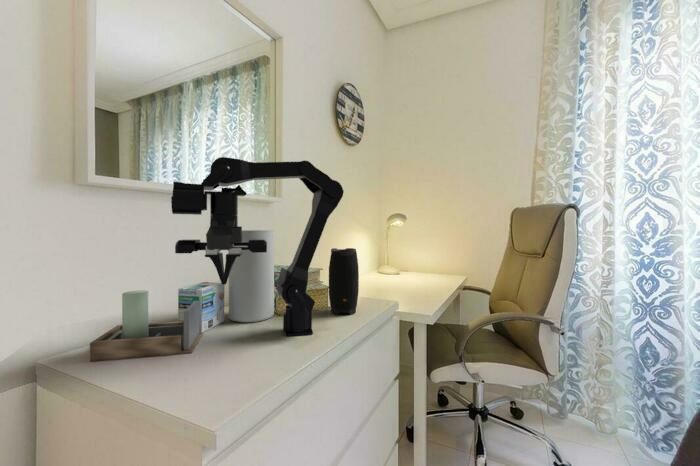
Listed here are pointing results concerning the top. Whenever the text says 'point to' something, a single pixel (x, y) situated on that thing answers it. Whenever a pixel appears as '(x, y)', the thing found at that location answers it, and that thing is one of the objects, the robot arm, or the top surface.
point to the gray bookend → (177, 328)
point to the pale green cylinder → (135, 314)
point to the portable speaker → (343, 280)
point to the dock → (138, 345)
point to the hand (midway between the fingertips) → (224, 284)
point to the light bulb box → (203, 303)
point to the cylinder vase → (252, 281)
